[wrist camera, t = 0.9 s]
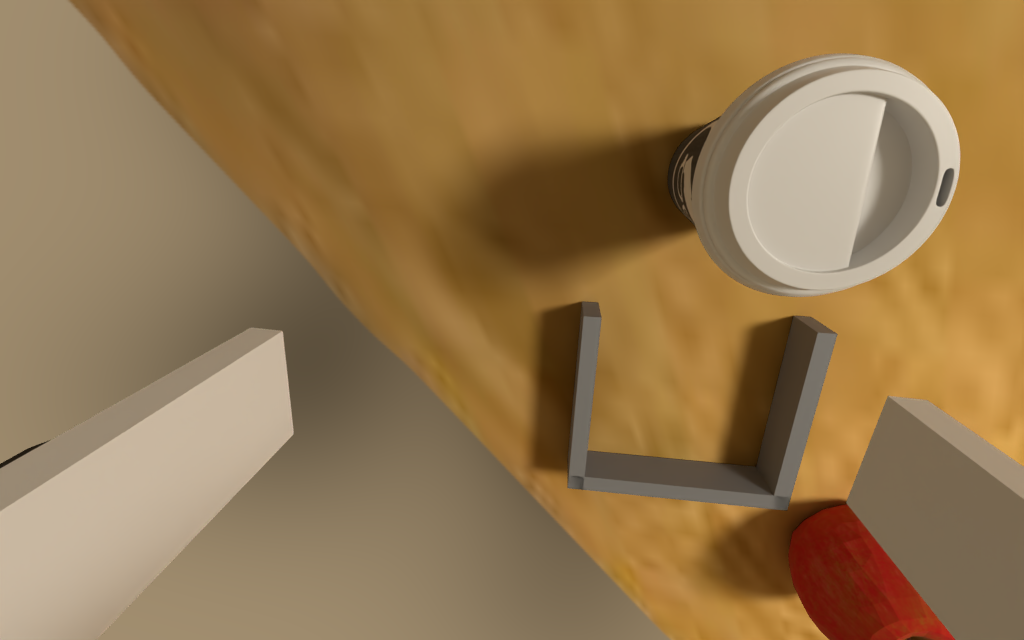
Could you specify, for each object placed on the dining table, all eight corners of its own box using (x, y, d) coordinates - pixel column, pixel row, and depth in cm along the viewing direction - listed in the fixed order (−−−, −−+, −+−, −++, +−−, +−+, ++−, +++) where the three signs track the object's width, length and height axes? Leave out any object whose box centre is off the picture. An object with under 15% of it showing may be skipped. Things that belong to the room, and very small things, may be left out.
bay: (582, 301, 35) (583, 316, 32) (811, 316, 34) (837, 333, 31) (567, 460, 40) (567, 488, 37) (768, 480, 39) (787, 510, 35)
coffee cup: (743, 266, 33) (874, 346, 19) (620, 213, 33) (660, 255, 19) (824, 131, 30) (1053, 107, 16) (687, 71, 30) (797, -7, 16)
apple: (824, 604, 42) (902, 741, 32) (747, 536, 41) (806, 657, 31) (932, 544, 39) (1056, 675, 29) (854, 467, 37) (956, 578, 28)
